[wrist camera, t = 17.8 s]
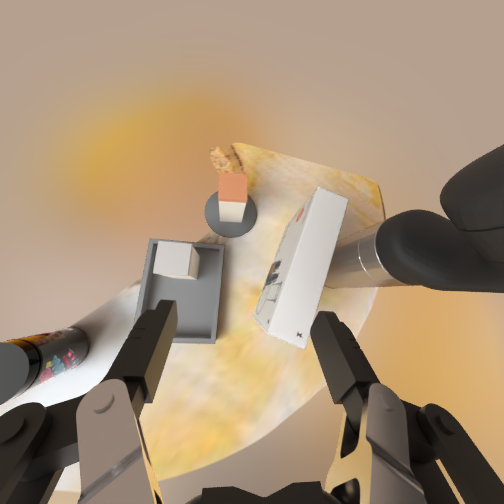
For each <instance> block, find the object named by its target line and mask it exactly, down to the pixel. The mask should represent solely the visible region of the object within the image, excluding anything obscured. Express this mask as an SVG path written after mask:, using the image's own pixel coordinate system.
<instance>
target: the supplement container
mask: <svg viewBox="0 0 504 504" xmlns="http://www.w3.org/2000/svg"><path fill="white" fill-rule="evenodd" d="M88 349H89V340H88V337H87V335H86V334H85V333H84V332H83V331H82V330H80V329H77V328H72V327H68V328H63V329H59V330H54V331H49V332H46V333H41V334H36V335H32V336H27V337H23V338H19V339H12V340H7V341H4V342H0V405H1V404H3V403H5V402H7V401H9V400H11V399H14V398H16V397H18V396H20V395H21V394H23V393H25V392H27V391H29V390H31V389H33V388H35V387H37V386H39V385H41V384H43V383H45V382H47V381H49V380H50V379H52V378H54V377H56V376H58V375H60V374H62V373H64V372H66V371H68V370H70V369H72V368H74V367H76V366H77V365H78V364H80V363H81V362H82V360H83V359H84V358H85V356H86V354H87V352H88Z"/></svg>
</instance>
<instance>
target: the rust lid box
mask: <svg viewBox="0 0 504 504" xmlns="http://www.w3.org/2000/svg"><path fill="white" fill-rule="evenodd" d="M218 201H219V214H220V221H223V222H242V218H243V214H244V210H245V206H246V203H247V175H246V174H235V173H225V172H219V190H218Z"/></svg>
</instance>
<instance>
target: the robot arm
mask: <svg viewBox="0 0 504 504" xmlns="http://www.w3.org/2000/svg"><path fill="white" fill-rule="evenodd" d="M440 203H441V206H442V208H443V210H444V212H445V213H446V215H447V216H448V218H449V219H450V220H451V221H450V220H448V219H446V218H444V217H442V216H440V215H438V214H436V213H433V212H430V211H425V210H409V211H406V212H402V213H400V214H398V215H395V216H393V217H391V218H389V219H386V220H384V221H382V222H380V223H377V224H375V225H373V226H371V227H369V228H367V229H364V230H362V231H360V232H358V233H355V234H353V235H351V236H349V237H346V238H344V239H342V240H340V241H338V242H336V246H335V249H334V253H333V256H332V259H331V263H330V266H329V270H328V273H327V276H326V280H325V283H324V285H325V286H327V287H329V288H361V287H388V286H413V285H422V286H424V287H428V288H431V289H435V290H442V291H470V292H493V293H504V144H503V145H502V146H500V147H498V148H496V149H494V150H493V151H491V152H489V153H487V154H485V155H483V156H482V157H480V158H478V159H476V160H475V161H473V162H472V163H470V164H469V165H467V166H466V167H464V168H463V169H462V170H460V171H459V172H458V173H456V174H455V175H454V176H453V177H452V178H451V179H450V180H449V181H448V182H447V183H446V185H445V186H444V187H443V189H442V192H441V194H440ZM177 323H178V315H177V302H176V300H163V299H161V300H160V301H159V302H158V304H157V306H156V309H155V310H150V309H147V310H146V311H145V312H144V313H143V314H142V315H141V316H140V317H139V318H138V319H137V321H136V323H135V325H134V326H133V329H132V330H131V332H130V334H129V335H128V338H127V339H126V341H125V343H124V344H123V346H122V348H121V350H120V352H119V353H118V355H117V357H116V359H115V360H114V362H113V364H112V366H111V368H110V369H109V371H108V373H107V375H106V376H105V377H104V379H103V380H102V381H101V382H100V383H99V384H98V385H96V386H95V387H94V388H92V389H91V390H90V391H89V392H87V393H86V394H84V395H82V396H79V397H77V398H74V399H70V400H67V401H64V402H61V403H58V404H54V405H51V406H48V407H44V406H43V405H42V404H40V403H36V402H31V403H26V404H22V405H20V406H17V407H15V408H13V409H11V410H10V411H8V412H6V413H5V414H3V415H2V416H0V504H47V503H48V501H49V499H50V497H51V495H52V493H53V491H54V489H55V487H56V485H57V483H58V481H59V478H60V476H61V474H62V472H63V470H64V468H65V467H67V466H69V465H72V464H74V463H76V462H80V476H81V496H80V499H79V500H78V504H164V503H163V500H162V496H161V492H160V489H159V485H158V482H157V478H156V475H155V472H154V469H153V466H152V462H151V459H150V455H149V451H148V448H147V444H146V440H145V437H144V433H143V429H142V426H141V422H140V418H139V417H140V414H141V411H142V409H143V406H144V403H152V402H153V399H154V396H155V393H156V390H157V387H158V384H159V381H160V378H161V375H162V372H163V369H164V365H165V362H166V359H167V356H168V353H169V350H170V347H171V344H172V341H173V338H174V335H175V332H176V329H177ZM310 335H311V339H312V342H313V345H314V348H315V351H316V353H317V356H318V359H319V362H320V365H321V368H322V371H323V373H324V376H325V379H326V382H327V385H328V387H329V391H330V394H331V396H332V399H333V402H334V404H343V406H344V408H345V411H344V413H343V417H342V422H341V428H340V433H339V439H338V444H337V450H336V455H335V459H334V461H333V464H332V466H331V467H330V470H329V472H328V476H327V480H326V484H325V489H324V490H322V487H321V483H320V481H317V482H300V483H292V484H290V485H288V486H286V487H285V488H283V489H281V490H279V491H277V492H275V493H273V494H271V495H270V496H268V497H260V496H258V495H255V494H252V493H250V492H247V491H244V490H242V489H239V488H236V487H233V486H232V487H214V488H203V489H202V494H200V495H199V496H196V497H194V498H193V499H191V500H190V501H189V502H187V503H186V504H459V502H458V500H457V498H456V496H455V495H454V493H453V491H452V489H451V488H450V486H449V484H448V482H447V480H446V479H445V477H444V475H443V474H442V472H441V470H440V468H439V466H438V465H437V463H436V461H435V460H438V459H440V460H441V462H442V464H443V466H444V467H445V469H446V471H447V473H448V474H449V476H450V478H451V479H452V481H453V483H454V485H455V486H456V488H457V490H458V492H459V493H460V495H461V497H462V498H463V500H464V502H465V504H504V484H503V483H502V481H501V480H500V479H499V477H498V476H497V474H496V473H495V472H494V470H493V469H492V468H491V466H490V465H489V463H488V462H487V461H486V459H485V458H484V457H483V455H482V454H481V452H480V451H479V450H478V448H477V447H476V446H475V444H474V443H473V441H472V440H471V438H470V437H469V436H468V434H467V433H466V431H465V430H464V429H463V427H462V426H461V425H460V423H459V422H458V421H457V420H456V419H455V418H454V417H453V416H452V415H451V414H450V413H449V412H448V411H446V410H445V409H444V408H442V407H440V406H438V405H436V404H427V405H425V406H424V407H422V408H421V407H419V406H416V405H413V404H411V403H408V402H406V401H403V400H401V399H399V397H398V396H397V395H396V394H395V393H394V392H393V391H392V390H391V389H390V388H388V387H387V386H385V385H383V384H381V383H380V381H379V380H378V378H377V376H376V374H375V373H374V371H373V369H372V368H371V366H370V364H369V362H368V360H367V358H366V357H365V355H364V353H363V351H362V350H361V349H360V346H359V344H358V343H357V342H356V339H355V337H354V335H353V334H352V332H351V330H350V329H349V328H348V327H347V326H346V325H345V324H344V323H343V322H340V321H339V319H338V317H337V315H336V314H335V313H334V312H330V311H319V312H318V314H317V316H316V318H315V320H314V322H313V324H312V326H311V329H310Z"/></svg>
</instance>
